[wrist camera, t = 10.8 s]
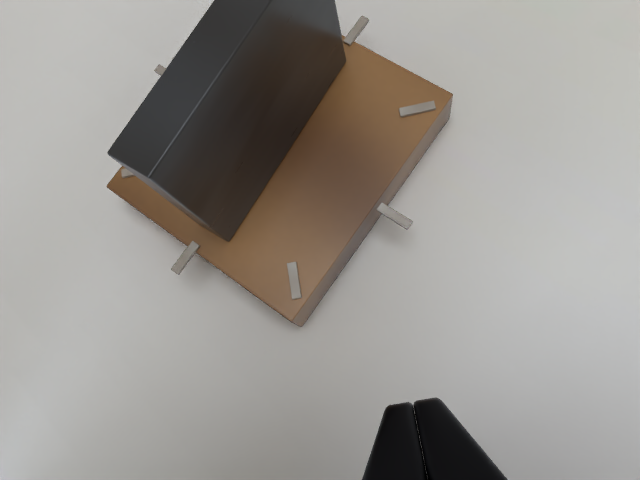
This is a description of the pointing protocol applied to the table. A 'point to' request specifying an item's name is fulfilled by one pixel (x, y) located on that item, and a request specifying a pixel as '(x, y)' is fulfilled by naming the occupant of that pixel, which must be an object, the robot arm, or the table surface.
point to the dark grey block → (232, 106)
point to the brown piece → (317, 184)
